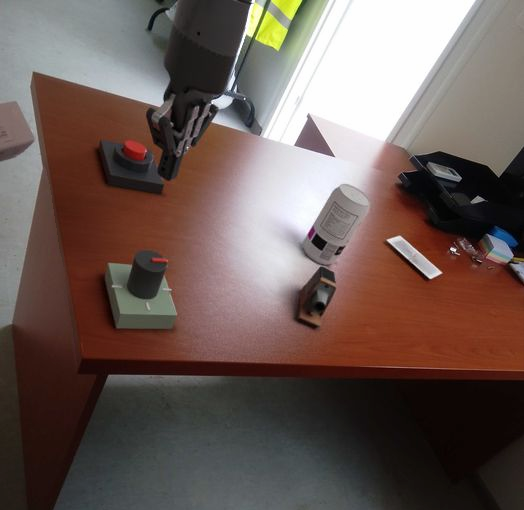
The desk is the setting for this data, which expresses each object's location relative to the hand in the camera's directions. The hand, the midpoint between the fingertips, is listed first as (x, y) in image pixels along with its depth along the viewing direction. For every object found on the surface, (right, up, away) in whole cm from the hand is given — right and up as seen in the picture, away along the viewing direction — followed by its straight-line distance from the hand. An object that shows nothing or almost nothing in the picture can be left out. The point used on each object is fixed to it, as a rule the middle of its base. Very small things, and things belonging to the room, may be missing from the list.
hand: (166, 176), depth 61 cm
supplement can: (+25, -2, +38) cm, 45 cm away
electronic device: (+21, -16, +23) cm, 35 cm away
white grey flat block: (+51, 0, +56) cm, 76 cm away
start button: (-12, +14, +26) cm, 32 cm away
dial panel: (-6, -16, +6) cm, 18 cm away
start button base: (-13, +12, +28) cm, 33 cm away
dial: (-4, -14, +4) cm, 16 cm away
